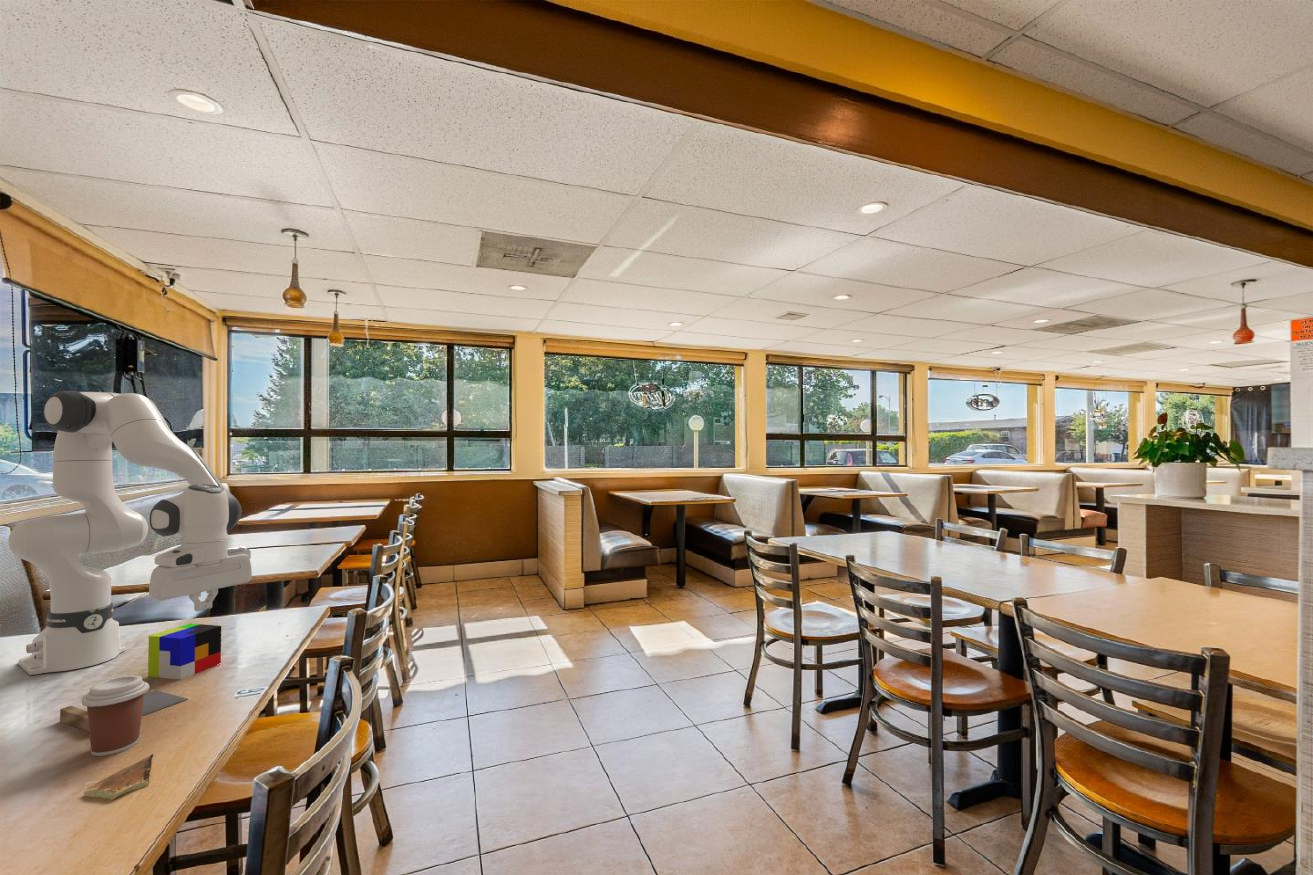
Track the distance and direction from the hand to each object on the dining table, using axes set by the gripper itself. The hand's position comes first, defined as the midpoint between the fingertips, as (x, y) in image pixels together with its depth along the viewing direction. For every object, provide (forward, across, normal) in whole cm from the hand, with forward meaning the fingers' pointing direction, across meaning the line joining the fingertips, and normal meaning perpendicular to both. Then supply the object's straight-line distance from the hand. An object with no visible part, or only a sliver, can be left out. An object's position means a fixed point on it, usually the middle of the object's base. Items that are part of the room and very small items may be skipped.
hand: (203, 609), depth 133 cm
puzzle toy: (+18, -3, -12) cm, 22 cm away
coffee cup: (+17, +24, +18) cm, 35 cm away
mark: (+17, +13, +2) cm, 22 cm away
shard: (+17, +30, +33) cm, 48 cm away
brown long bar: (+17, +22, +2) cm, 28 cm away
